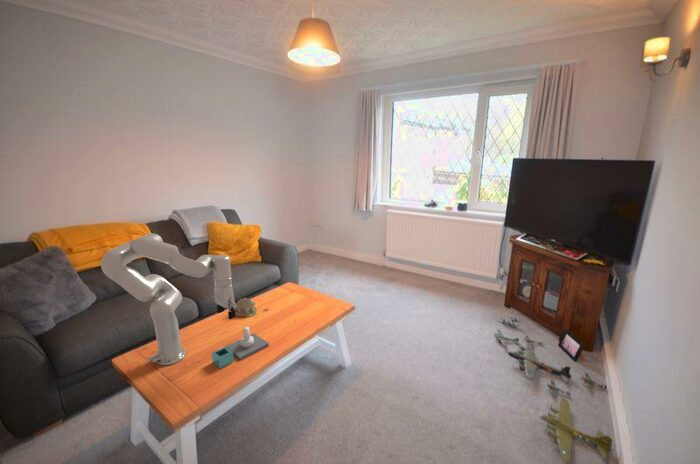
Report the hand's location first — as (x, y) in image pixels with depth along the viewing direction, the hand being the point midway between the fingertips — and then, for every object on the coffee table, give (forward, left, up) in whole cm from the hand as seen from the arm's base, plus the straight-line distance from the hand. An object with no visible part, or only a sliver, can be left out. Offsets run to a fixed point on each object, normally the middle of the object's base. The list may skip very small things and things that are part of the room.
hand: (226, 315), depth 151 cm
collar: (-6, -4, -20) cm, 22 cm away
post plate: (+8, -2, -20) cm, 22 cm away
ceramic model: (+27, +31, -21) cm, 47 cm away
